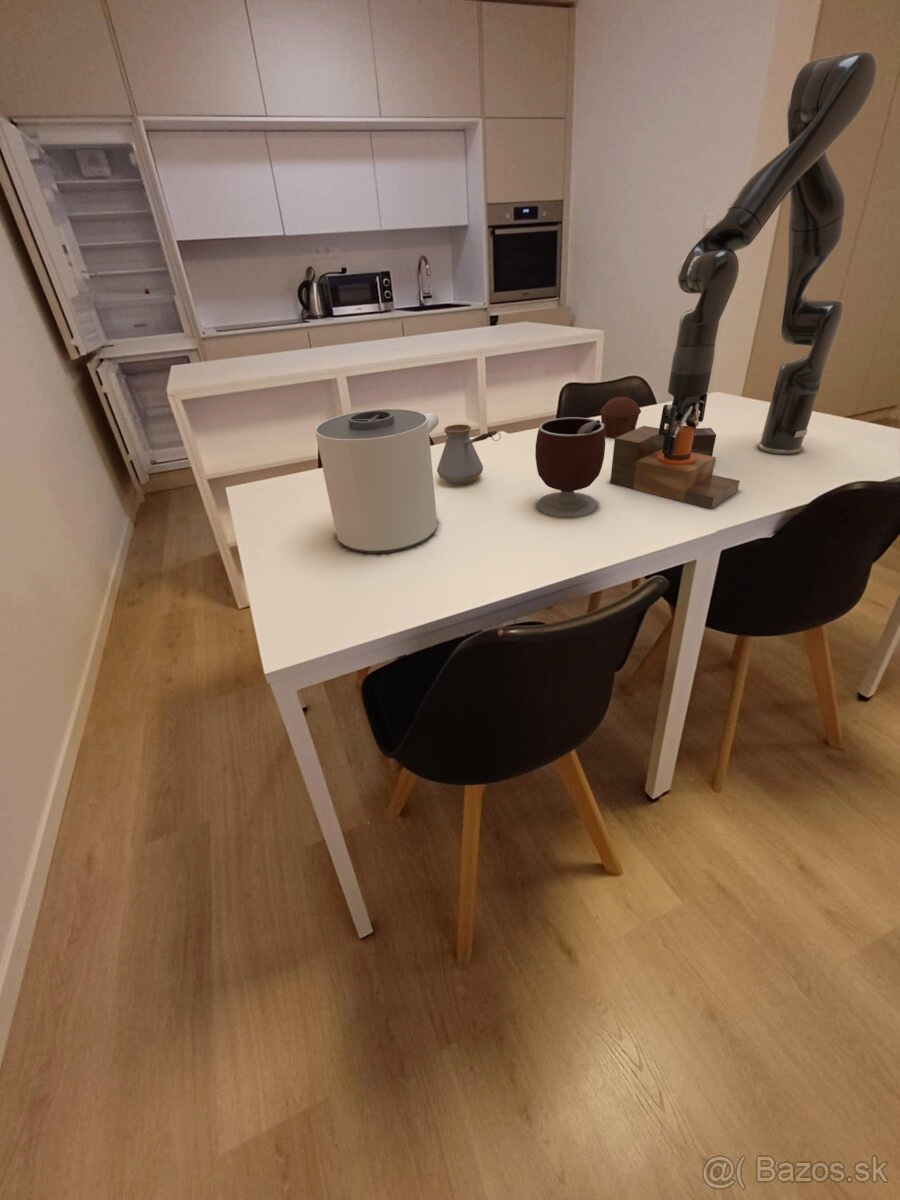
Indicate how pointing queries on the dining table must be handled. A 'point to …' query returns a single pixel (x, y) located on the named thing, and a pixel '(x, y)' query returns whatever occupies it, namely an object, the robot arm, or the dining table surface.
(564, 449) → the mate gourd
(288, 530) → the dining table surface
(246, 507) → the dining table surface
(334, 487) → the humidifier
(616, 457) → the stand
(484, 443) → the dining table surface
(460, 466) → the coffee pot
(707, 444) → the box
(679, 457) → the hat
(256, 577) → the dining table surface
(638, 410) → the muffin
